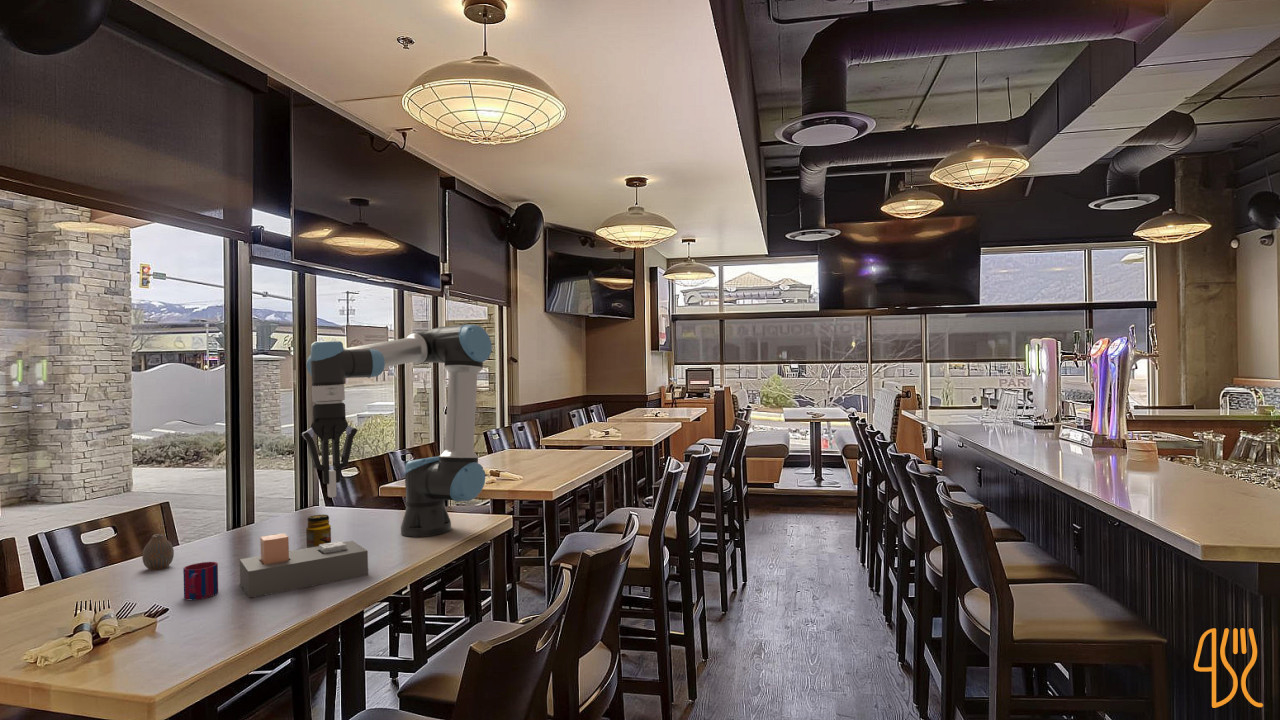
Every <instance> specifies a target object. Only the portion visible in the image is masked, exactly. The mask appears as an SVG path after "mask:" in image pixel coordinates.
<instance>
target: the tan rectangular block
mask: <svg viewBox="0 0 1280 720" xmlns="http://www.w3.org/2000/svg"><path fill="white" fill-rule="evenodd" d="M259 538H260V539H259V540H260V544H259V545H260V556H261V563H262V564H263V565H265V564H271V563H277V562H282V561H288V560H289V551H290V546H289V544H290V542H289V536H288V535H287V534H286V533H285V532H283V533H277V534H271V535H262V536H260V537H259Z"/></svg>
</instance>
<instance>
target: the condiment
mask: <svg viewBox="0 0 1280 720" xmlns="http://www.w3.org/2000/svg"><path fill="white" fill-rule="evenodd" d="M331 530H332V528H331V525H330V516H329V514H315V515H310V516H308V518H307V527H306V529H305V531H306V534H305V535H306V537H305V538H306V548H311V547H317V546H319V545H320V544H326V543H332V531H331Z"/></svg>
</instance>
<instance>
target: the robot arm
mask: <svg viewBox="0 0 1280 720" xmlns="http://www.w3.org/2000/svg"><path fill="white" fill-rule="evenodd" d="M492 348H493V345H492V341H491V337H490V336H489V333H487V330H486V329H484V327H482V326H480V325H477V324H459V325H449V326H447V325H446V326H439V327H435V328H432V329H428V330H424V331H421V332H419V331H418V332H416V333H415V332H414V333H411V334H409V335H408V336H407V337H405V338H398V339H393V340H386V341H382V342H380V341H379V342H375V343H369V344H363V345H356V346H351V347H346V348H345V347H344V343H343V342H342V341H339V340H331V341H330V340H324V341H314V342H313V343H311V347H310V355H309V356H308V357H307V360H306V364H305V365H306V370H307V372H308V374H309V376H310V377H311V395H312V396H311V397H312V398H311V401H312V403H314V404H313V405H312V423H311V425H310V428H309V429H307V430H306V431H303V432H302V433H301V437H302V438H303V439H304V440H305V441H306V444H307V448H308V451H309V454H310V458H311V462H312V465H313V468H314V469H316V470H318V471H321V472H322V483H323V484H324V485H326V488H327V489H326V490H327V497H328V498H335V497H336V498H337V497H338V496H337V495H338V494H337V484H339V483H341V469H343V468H346V467H348V464H349V460H350V455H351V450H352V446H353V442H354V438H355V436H356V434H357V432H358V429H357V428H355V427H352V426H350V425H349V423H348V420H347V419H346V403H345V402H344V401H345V400H346V397H345V396H346V393H345V379H355V378H356V379H357V378H360V379H361V378H362V379H363V378H368V379H370V378H376V377H379V376H381V374H382V373H384V370H385V368H388V367H394V366H398V365H405V364H409V363H413V364H415V365H420V364H427V363H432V364H433V363H434V364H435V363H436V364H438V363H439V364H444V365H443V366H444V369H445V370H447V372H448V387H447V403H446V405H447V407H446V423H445V438H444V440H445V441H444V450H443V452H442V453H441V454H440V455H438V456H432V457H426V458H419V459H418V458H417V459H413V460H408V461H407V462H406V463H405V466H404V467H405V469H404V470H405V471H404V483H405V484H404V485H405V511H404V516H403V519H402V522H401V525H400V534H401V535H402V536H405V537H411V536H412V537H413V538H415V537H416V538H417V536H421V537H431V536H436V535H442V534H444V533H448V532H450V531H451V530H452V521H451V519H450V516H449V513H448V511H447V508H446V501H455V502H470V501H473V500H474V499H476V498H477V497H478V496H479V494H481V492H482V490H483V489H484V487H485V482H486V471H485V469H484V467H483V466H482V465H481V464H480V463H479V455H477V454H476V452H475V451H474V448H475V446H474V445H475V429H476V425H475V424H476V410H477V409H476V408H477V390H478V389H477V386H478V374H479V373H480V372H481V371H482V370H483V367H484V362H486V361H487V360H488V359H490V358H489V357H490V356H491V355H492V351H493V350H492ZM344 433H345V435H346V437H345V440H344V445H343V449H342V453H341V452H340V451H341V450H340V447H341V446H340V443H341V441H340V440H341V437H342V435H343V434H344ZM314 434H315V435H316V436H317V438H319V439H320V445H321V446H320V448H321V449H320V451H321V460H320V457H319V453H318V450H317V447H316V444H315V441H314V439H313V438H314V436H315V435H314ZM330 440H331V450H332V451H331V454H332V468H333V469H330V448H329V445H330V444H329V443H330ZM412 537H411V538H412Z"/></svg>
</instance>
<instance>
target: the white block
mask: <svg viewBox="0 0 1280 720" xmlns="http://www.w3.org/2000/svg"><path fill="white" fill-rule="evenodd" d="M343 542H344V541H342V540H339V541H331V543H326V544H320V545H319V552H320V553H321V554H329V553H335V552H341V551H346V544H344V543H343Z"/></svg>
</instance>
